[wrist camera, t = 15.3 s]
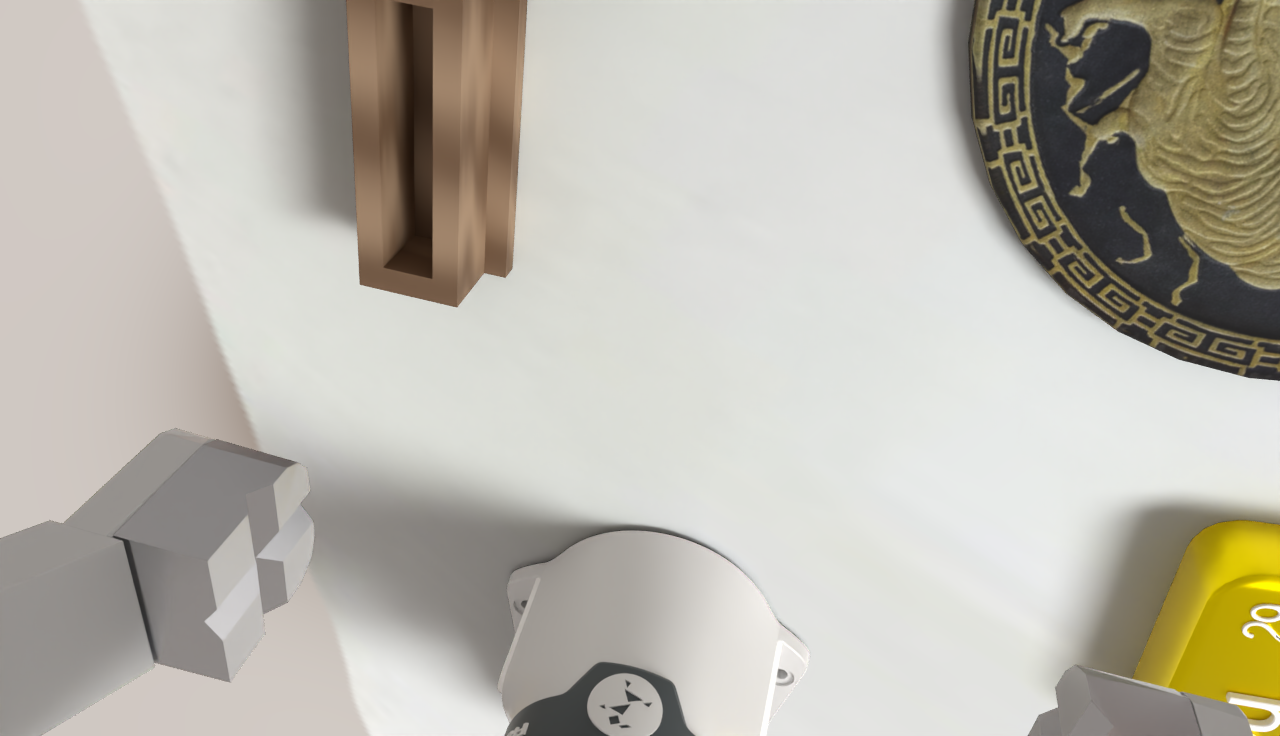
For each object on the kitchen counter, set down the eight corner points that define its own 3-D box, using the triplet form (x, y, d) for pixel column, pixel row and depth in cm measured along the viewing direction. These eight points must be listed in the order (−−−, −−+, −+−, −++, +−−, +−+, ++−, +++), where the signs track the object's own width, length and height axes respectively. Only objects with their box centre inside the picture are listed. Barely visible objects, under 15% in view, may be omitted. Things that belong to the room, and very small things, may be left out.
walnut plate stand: (512, 268, 48) (479, 312, 44) (380, 238, 49) (337, 279, 45) (529, -37, 40) (491, -13, 36) (370, -67, 40) (317, -47, 37)
